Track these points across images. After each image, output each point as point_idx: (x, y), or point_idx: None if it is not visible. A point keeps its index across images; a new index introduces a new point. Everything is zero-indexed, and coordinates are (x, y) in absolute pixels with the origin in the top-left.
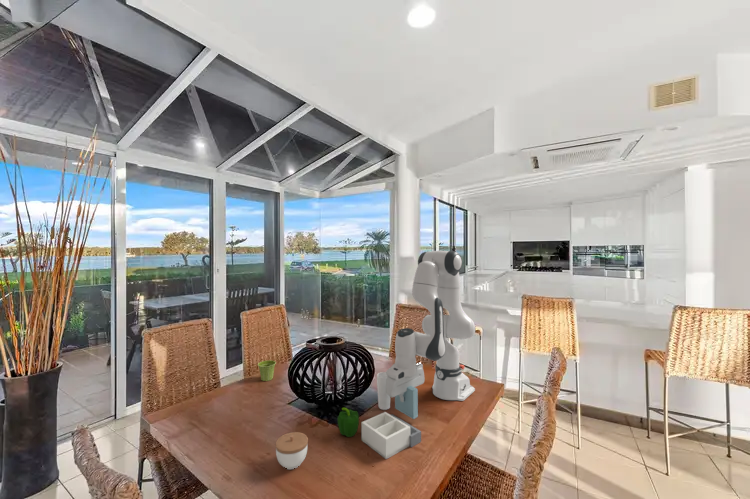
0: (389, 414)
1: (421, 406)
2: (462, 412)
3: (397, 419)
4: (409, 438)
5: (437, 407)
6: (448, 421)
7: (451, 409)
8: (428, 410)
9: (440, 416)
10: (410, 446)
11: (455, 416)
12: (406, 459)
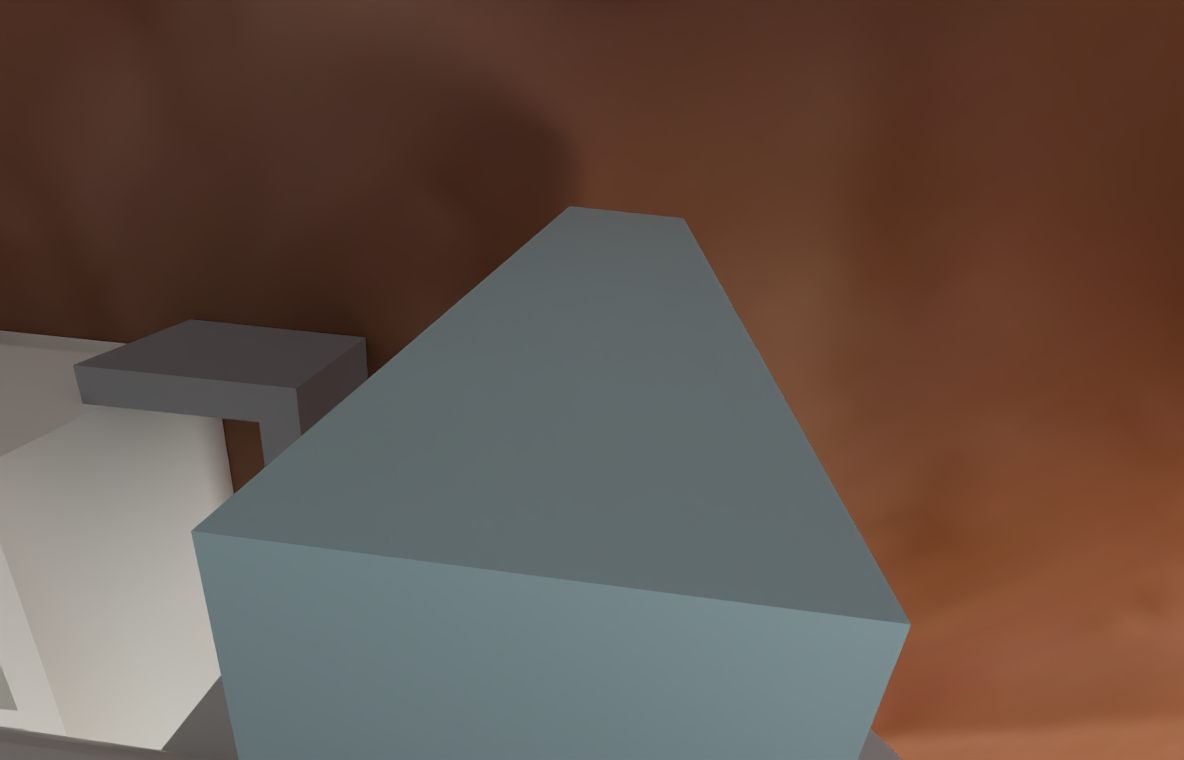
0: (9, 576)
1: (1057, 347)
2: (1166, 751)
3: (56, 733)
4: None
5: (1148, 520)
6: (882, 731)
7: (1181, 653)
8: (994, 479)
9: (933, 640)
10: None
11: (1030, 737)
12: None
